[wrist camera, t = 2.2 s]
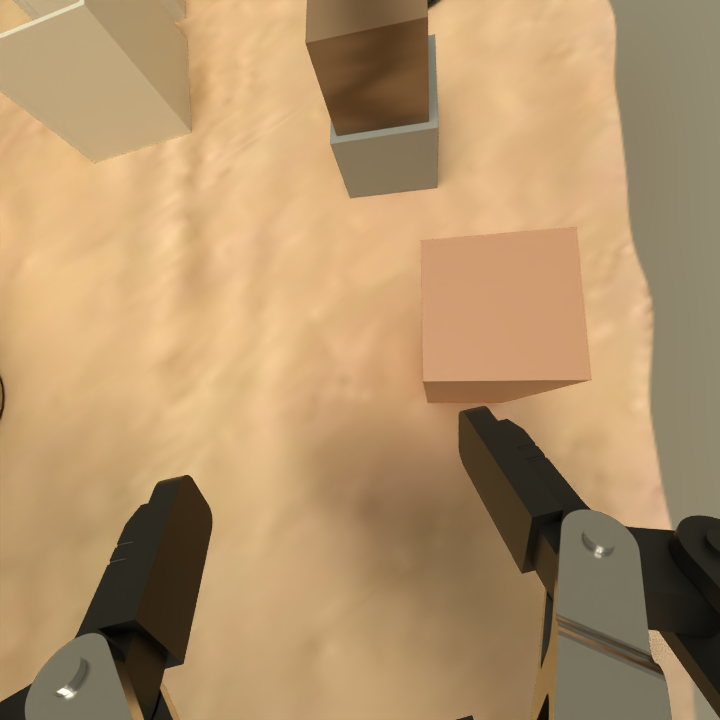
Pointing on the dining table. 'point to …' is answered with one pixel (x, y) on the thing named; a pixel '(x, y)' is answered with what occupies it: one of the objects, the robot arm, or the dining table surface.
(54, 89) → the white divider rack
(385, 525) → the dining table surface
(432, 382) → the pillar
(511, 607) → the dining table surface
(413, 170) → the grey block
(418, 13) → the walnut block
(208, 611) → the dining table surface
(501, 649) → the dining table surface
